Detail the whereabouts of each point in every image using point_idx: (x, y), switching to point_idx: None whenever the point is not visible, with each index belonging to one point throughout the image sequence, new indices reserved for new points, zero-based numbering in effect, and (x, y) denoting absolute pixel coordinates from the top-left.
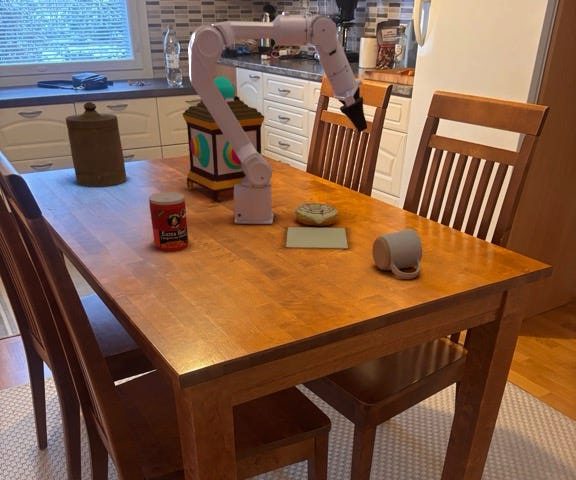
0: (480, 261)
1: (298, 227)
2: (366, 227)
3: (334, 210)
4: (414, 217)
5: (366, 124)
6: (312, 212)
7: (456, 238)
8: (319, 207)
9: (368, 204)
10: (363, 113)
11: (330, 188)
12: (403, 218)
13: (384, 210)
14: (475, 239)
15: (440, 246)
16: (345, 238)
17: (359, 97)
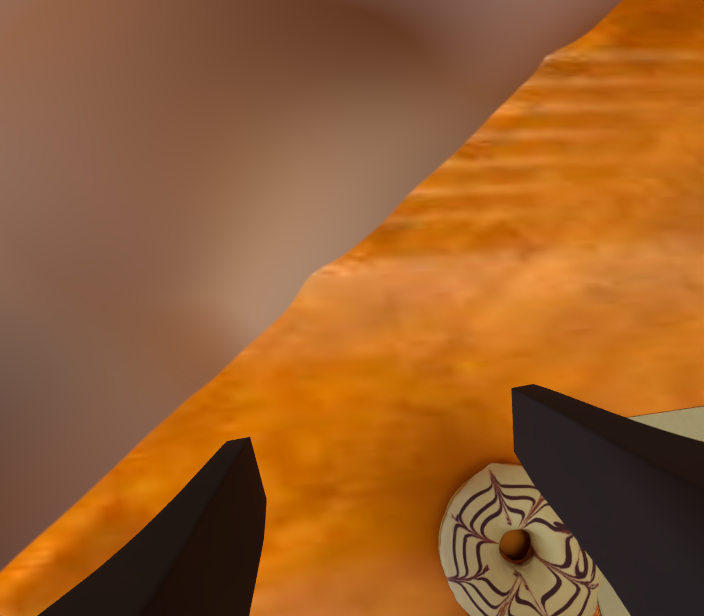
0: (694, 72)
1: (600, 594)
2: (515, 362)
3: (529, 480)
4: (381, 234)
5: (553, 392)
6: (592, 565)
7: (536, 126)
8: (495, 543)
9: (276, 375)
10: (694, 441)
11: (104, 526)
12: (398, 262)
13: (331, 321)
14: (529, 85)
15: (616, 159)
16: (657, 416)
17: (151, 604)
